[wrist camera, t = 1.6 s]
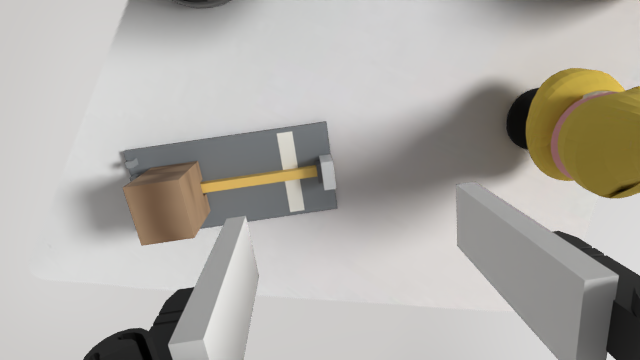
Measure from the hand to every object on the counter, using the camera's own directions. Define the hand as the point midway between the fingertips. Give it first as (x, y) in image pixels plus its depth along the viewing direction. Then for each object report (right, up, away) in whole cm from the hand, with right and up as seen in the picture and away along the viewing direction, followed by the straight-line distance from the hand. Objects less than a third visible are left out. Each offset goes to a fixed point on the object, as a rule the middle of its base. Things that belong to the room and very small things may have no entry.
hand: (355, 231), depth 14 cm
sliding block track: (-13, +2, +34) cm, 36 cm away
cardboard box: (-20, +1, +32) cm, 38 cm away
